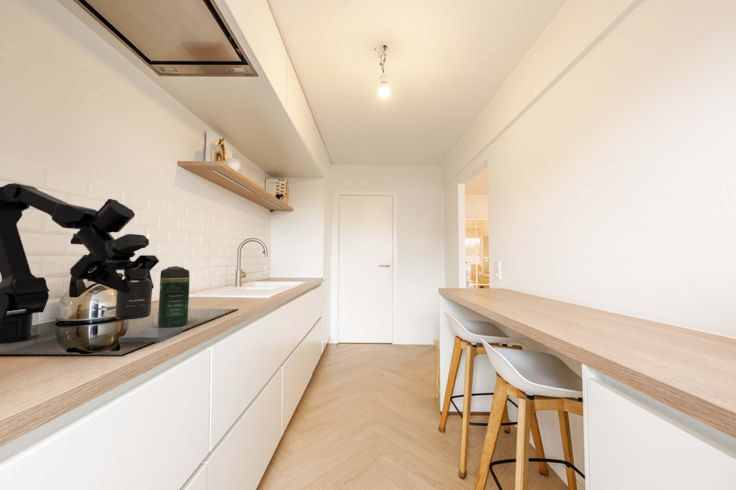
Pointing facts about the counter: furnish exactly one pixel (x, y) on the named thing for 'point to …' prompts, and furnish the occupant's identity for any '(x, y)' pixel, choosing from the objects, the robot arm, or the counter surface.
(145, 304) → the supplement bottle
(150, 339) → the coaster
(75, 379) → the counter surface
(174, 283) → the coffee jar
